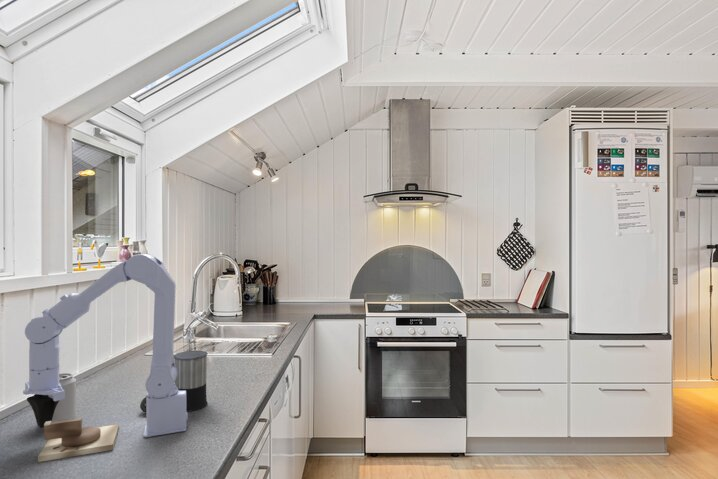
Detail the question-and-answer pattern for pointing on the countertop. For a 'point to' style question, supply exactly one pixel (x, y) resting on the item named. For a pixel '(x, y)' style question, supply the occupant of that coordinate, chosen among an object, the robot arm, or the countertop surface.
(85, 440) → the dial
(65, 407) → the can
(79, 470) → the countertop surface
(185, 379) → the milk frother
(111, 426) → the dial plate
